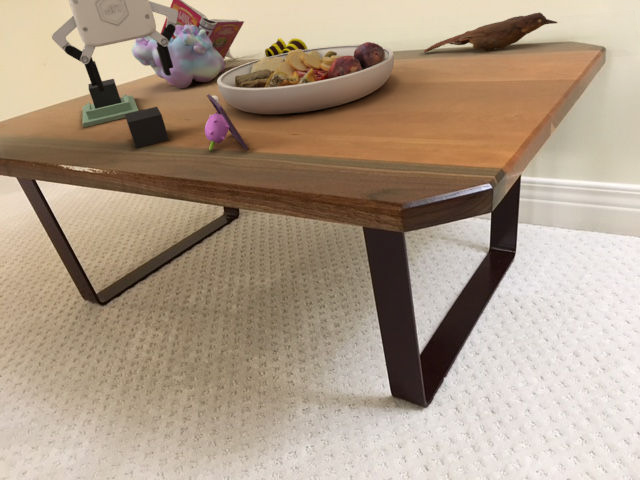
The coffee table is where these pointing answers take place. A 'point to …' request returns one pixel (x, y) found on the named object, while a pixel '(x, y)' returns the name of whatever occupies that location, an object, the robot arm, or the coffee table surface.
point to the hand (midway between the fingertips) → (135, 82)
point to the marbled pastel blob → (190, 46)
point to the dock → (108, 111)
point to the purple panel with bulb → (220, 125)
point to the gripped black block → (147, 127)
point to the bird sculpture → (498, 33)
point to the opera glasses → (285, 47)
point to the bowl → (307, 79)
